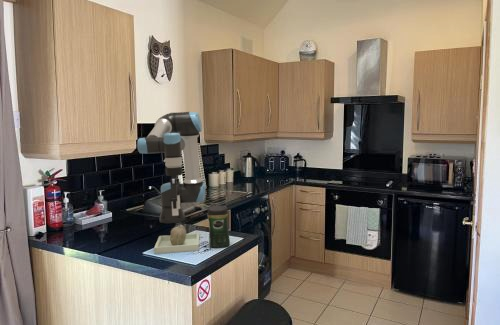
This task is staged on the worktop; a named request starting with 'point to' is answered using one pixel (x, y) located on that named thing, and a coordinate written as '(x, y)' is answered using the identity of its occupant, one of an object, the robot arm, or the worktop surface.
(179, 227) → the garlic bulb
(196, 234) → the holder dish
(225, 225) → the coffee jar
